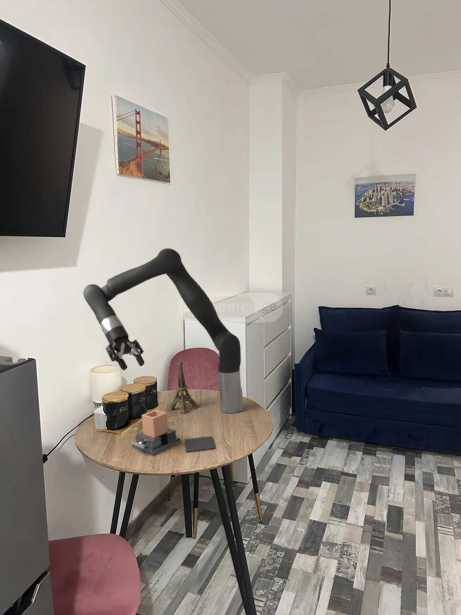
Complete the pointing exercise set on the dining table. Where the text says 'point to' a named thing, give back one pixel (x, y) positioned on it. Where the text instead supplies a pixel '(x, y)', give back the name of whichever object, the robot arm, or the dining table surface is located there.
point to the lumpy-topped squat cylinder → (100, 418)
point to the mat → (199, 444)
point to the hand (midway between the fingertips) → (134, 367)
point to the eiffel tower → (182, 393)
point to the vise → (155, 442)
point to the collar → (154, 423)
